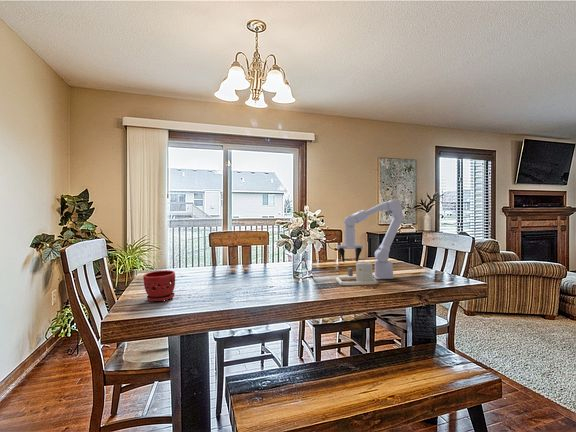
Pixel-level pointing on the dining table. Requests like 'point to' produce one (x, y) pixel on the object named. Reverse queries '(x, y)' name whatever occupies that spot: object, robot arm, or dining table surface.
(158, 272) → the plant pot
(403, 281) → the dining table surface
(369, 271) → the small box
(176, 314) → the dining table surface
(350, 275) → the pull frame
